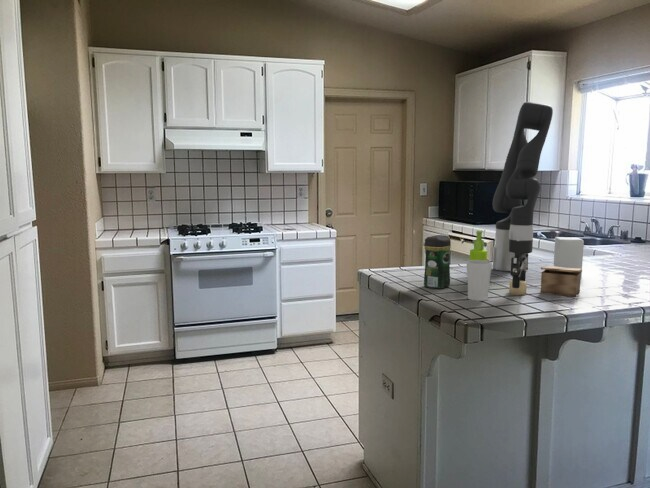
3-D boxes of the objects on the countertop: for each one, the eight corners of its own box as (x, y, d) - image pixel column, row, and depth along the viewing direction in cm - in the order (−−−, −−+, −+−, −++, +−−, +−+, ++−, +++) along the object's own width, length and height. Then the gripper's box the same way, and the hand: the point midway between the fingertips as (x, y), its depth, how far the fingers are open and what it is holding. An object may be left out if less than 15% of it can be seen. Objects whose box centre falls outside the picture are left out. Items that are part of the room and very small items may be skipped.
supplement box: (582, 278, 208) (584, 239, 206) (557, 277, 210) (559, 239, 208) (576, 273, 217) (578, 237, 215) (552, 273, 218) (554, 236, 216)
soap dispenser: (486, 284, 196) (488, 230, 193) (485, 288, 189) (487, 232, 187) (469, 283, 198) (471, 229, 195) (468, 287, 191) (470, 231, 189)
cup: (461, 295, 178) (463, 260, 176) (485, 295, 179) (486, 259, 177) (470, 301, 170) (471, 264, 169) (494, 301, 171) (496, 263, 169)
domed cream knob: (507, 293, 181) (507, 281, 181) (511, 290, 186) (511, 279, 185) (524, 295, 178) (524, 283, 178) (527, 292, 183) (528, 280, 182)
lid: (540, 270, 181) (540, 267, 181) (546, 268, 189) (546, 265, 189) (578, 273, 175) (578, 270, 175) (582, 271, 183) (582, 268, 183)
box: (540, 292, 182) (541, 272, 181) (545, 288, 190) (546, 268, 189) (575, 296, 176) (577, 275, 176) (579, 291, 184) (580, 271, 183)
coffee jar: (433, 283, 199) (435, 233, 196) (453, 286, 193) (454, 234, 191) (419, 287, 192) (421, 235, 189) (439, 290, 186) (440, 237, 184)
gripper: (514, 235, 187) (512, 281, 189) (503, 239, 176) (501, 288, 177) (537, 236, 183) (534, 283, 185) (527, 241, 172) (525, 290, 173)
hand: (518, 285), depth 181 cm, fingers open, 8 cm apart
